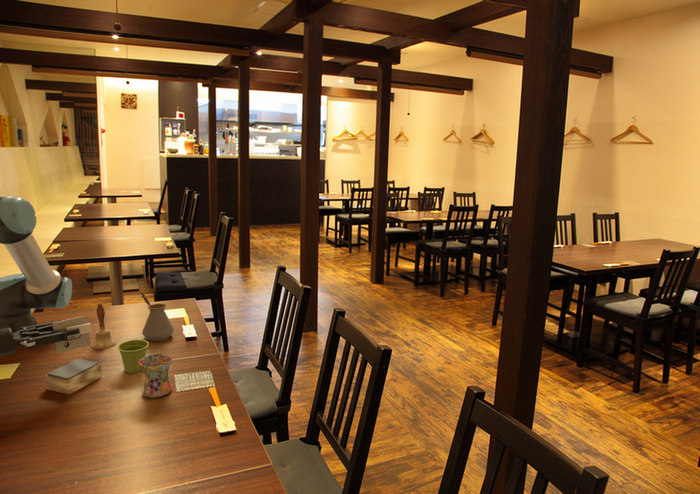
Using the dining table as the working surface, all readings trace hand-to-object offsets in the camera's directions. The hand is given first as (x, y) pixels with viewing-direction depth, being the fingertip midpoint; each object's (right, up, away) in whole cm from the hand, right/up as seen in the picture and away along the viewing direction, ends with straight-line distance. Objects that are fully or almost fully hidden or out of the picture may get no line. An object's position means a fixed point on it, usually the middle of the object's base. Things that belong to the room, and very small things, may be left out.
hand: (88, 325), depth 146 cm
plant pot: (+10, -17, +10) cm, 22 cm away
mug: (+22, -20, -3) cm, 30 cm away
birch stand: (-4, -18, 0) cm, 19 cm away
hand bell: (-10, -12, +29) cm, 33 cm away
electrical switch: (-4, -6, -2) cm, 8 cm away
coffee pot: (+4, -10, +40) cm, 42 cm away
